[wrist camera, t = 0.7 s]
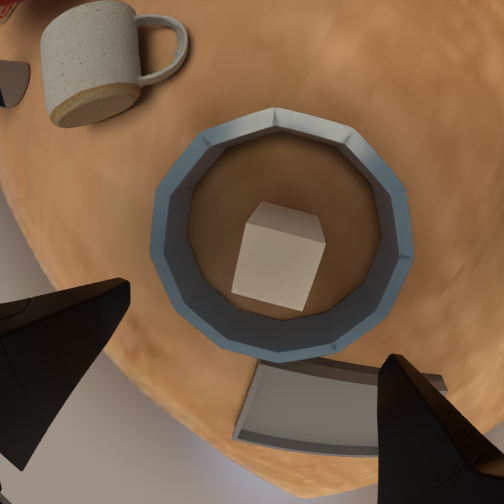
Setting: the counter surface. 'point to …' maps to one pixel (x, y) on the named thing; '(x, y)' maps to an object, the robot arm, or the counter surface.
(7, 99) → the lotion bottle
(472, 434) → the robot arm
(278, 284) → the beige rectangular block
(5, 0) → the mixing bowl
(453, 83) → the counter surface
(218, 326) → the blue ring
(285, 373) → the tray
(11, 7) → the lighter
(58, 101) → the ceramic mug
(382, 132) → the counter surface
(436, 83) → the counter surface
